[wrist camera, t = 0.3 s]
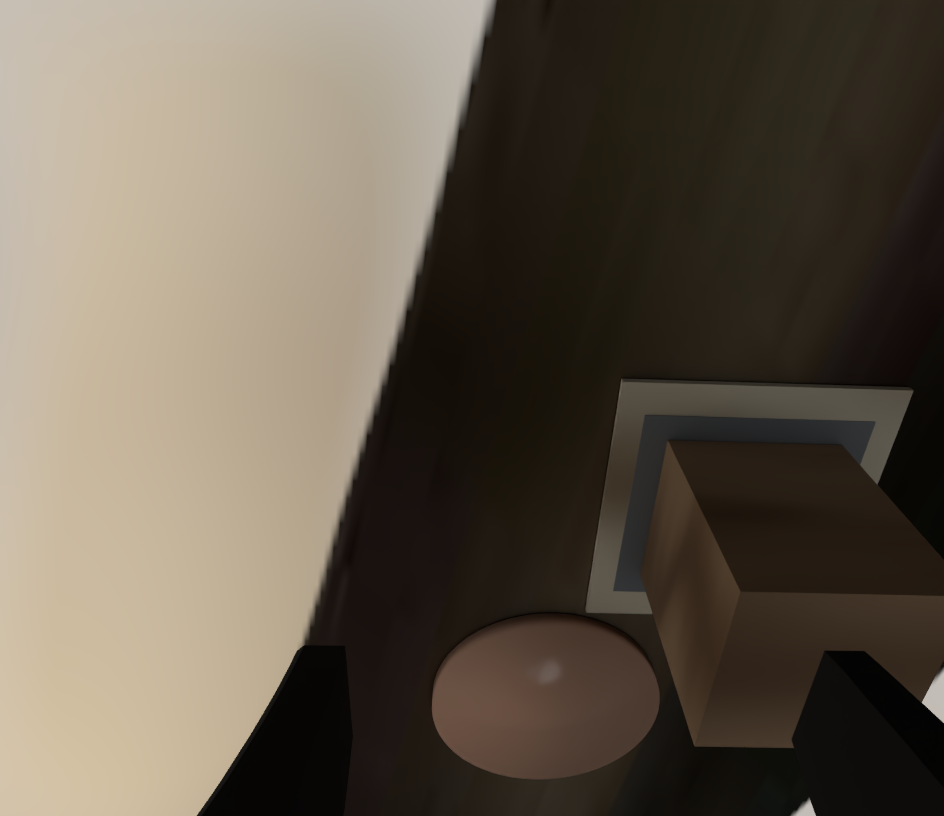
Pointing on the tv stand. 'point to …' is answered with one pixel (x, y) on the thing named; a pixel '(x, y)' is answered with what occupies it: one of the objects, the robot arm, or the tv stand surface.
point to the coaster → (545, 696)
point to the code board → (723, 420)
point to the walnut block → (782, 583)
